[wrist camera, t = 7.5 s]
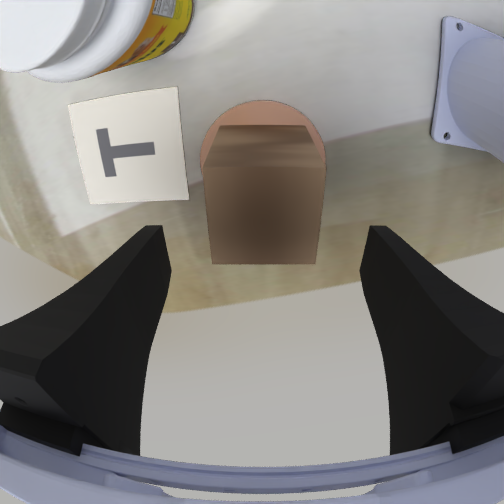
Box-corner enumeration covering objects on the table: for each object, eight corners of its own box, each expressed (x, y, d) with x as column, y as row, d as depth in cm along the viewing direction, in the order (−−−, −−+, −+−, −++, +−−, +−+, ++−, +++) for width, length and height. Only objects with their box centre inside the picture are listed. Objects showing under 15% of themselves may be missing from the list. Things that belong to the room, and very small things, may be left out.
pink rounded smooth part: (327, 102, 16) (329, 104, 15) (318, 212, 20) (320, 216, 19) (196, 102, 16) (195, 104, 15) (206, 212, 20) (205, 217, 20)
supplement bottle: (103, 69, 14) (-27, 122, 6) (97, -17, 11) (-38, -30, 3) (200, 53, 14) (124, 74, 6) (196, -39, 11) (120, -115, 3)
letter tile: (177, 86, 15) (177, 86, 15) (189, 199, 19) (189, 199, 19) (68, 104, 15) (67, 105, 15) (90, 204, 20) (90, 204, 20)
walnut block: (305, 125, 16) (326, 168, 11) (300, 199, 19) (315, 264, 14) (220, 125, 16) (202, 167, 11) (224, 199, 19) (212, 264, 14)
